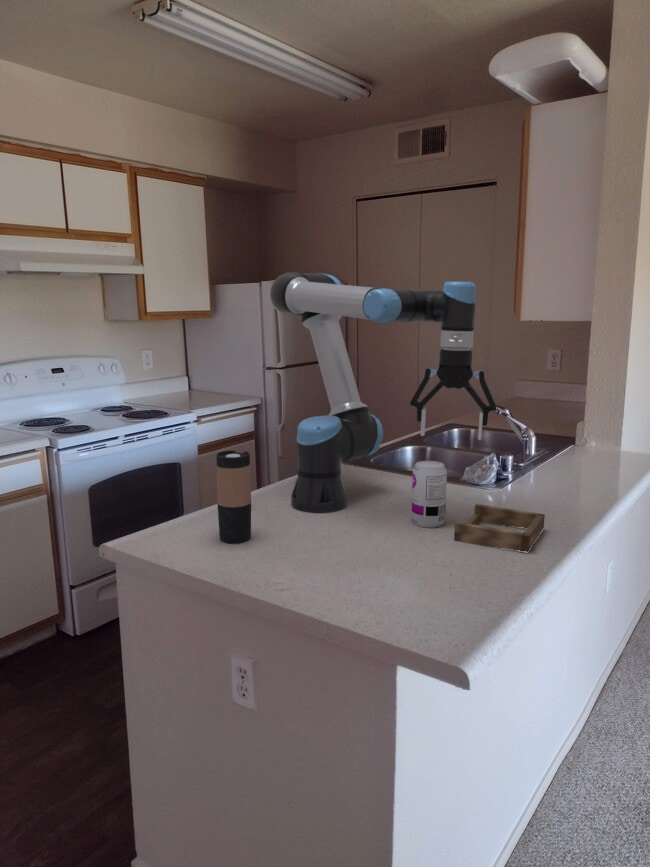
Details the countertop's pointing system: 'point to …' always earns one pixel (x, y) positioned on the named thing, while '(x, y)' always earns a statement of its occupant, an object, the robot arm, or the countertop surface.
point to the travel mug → (234, 496)
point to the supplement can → (429, 494)
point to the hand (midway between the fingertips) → (450, 436)
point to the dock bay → (500, 537)
